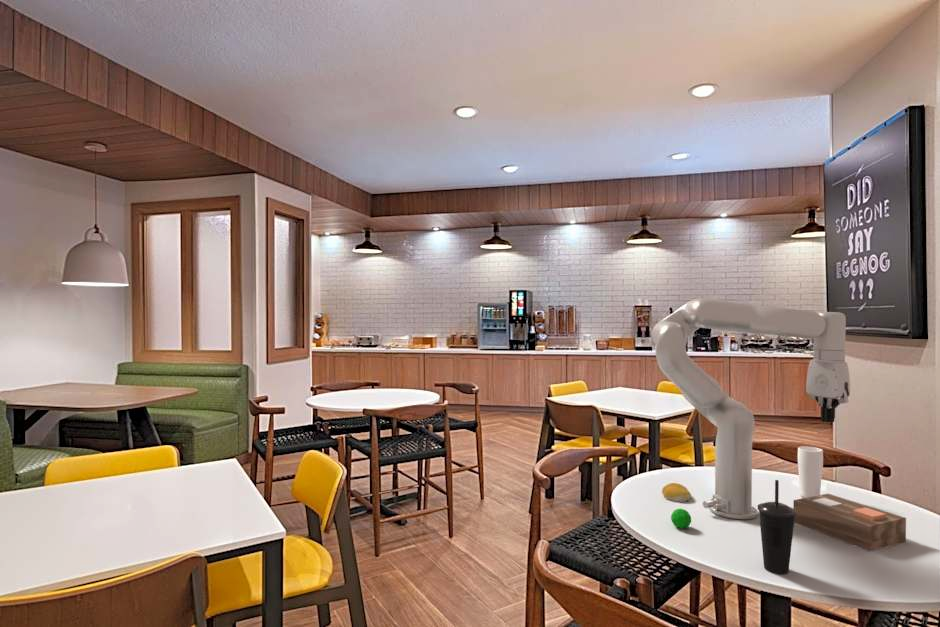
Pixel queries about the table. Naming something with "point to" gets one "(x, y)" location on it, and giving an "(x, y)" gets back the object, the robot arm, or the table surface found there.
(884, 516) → the terracotta plug
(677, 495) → the bread roll
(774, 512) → the drinking cup
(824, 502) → the white plug
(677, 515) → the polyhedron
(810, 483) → the drinking glass
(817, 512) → the walnut block
